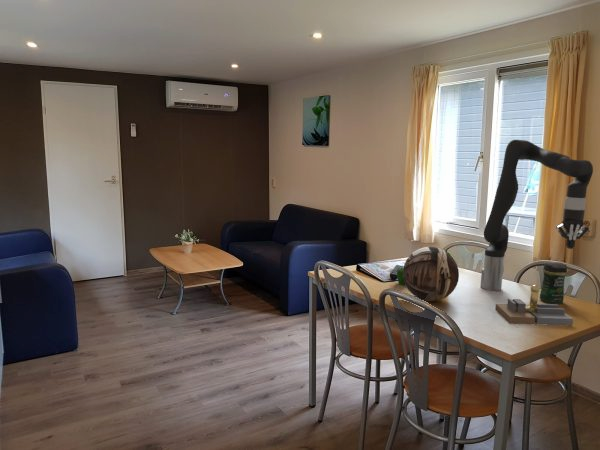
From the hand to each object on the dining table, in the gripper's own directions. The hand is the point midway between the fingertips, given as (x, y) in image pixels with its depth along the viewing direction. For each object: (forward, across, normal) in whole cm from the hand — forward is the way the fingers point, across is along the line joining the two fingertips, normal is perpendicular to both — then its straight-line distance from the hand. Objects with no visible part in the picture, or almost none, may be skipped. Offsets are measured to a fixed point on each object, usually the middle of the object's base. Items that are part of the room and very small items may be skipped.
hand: (569, 248), depth 199 cm
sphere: (+29, +55, -12) cm, 63 cm away
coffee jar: (+29, -3, -16) cm, 33 cm away
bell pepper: (+29, +62, -36) cm, 78 cm away
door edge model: (+29, +16, +7) cm, 34 cm away
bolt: (+26, +18, +7) cm, 32 cm away
